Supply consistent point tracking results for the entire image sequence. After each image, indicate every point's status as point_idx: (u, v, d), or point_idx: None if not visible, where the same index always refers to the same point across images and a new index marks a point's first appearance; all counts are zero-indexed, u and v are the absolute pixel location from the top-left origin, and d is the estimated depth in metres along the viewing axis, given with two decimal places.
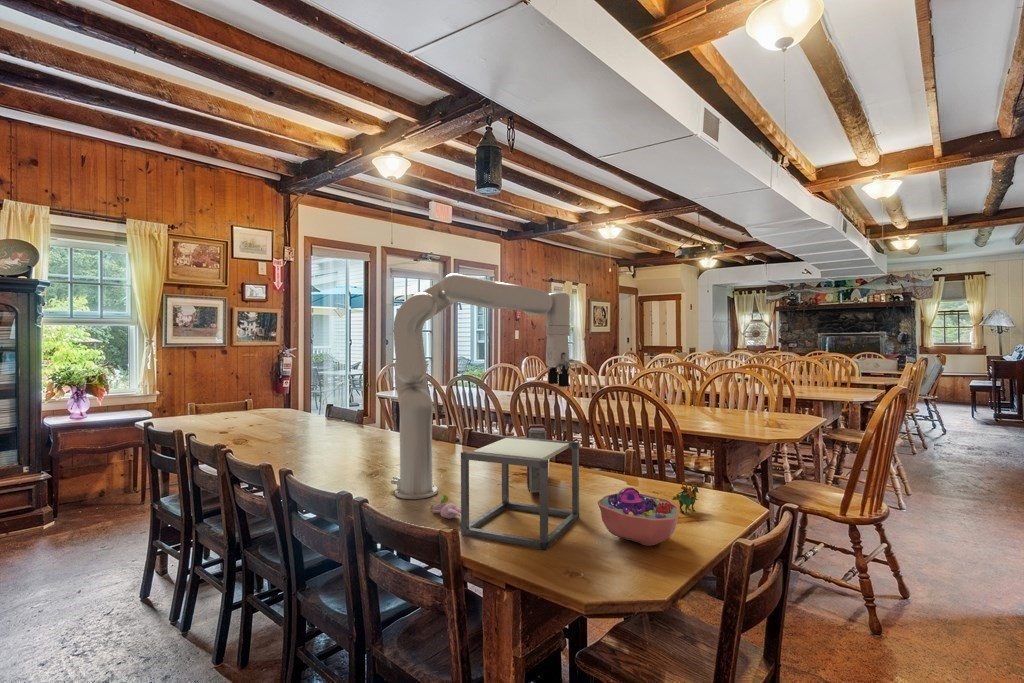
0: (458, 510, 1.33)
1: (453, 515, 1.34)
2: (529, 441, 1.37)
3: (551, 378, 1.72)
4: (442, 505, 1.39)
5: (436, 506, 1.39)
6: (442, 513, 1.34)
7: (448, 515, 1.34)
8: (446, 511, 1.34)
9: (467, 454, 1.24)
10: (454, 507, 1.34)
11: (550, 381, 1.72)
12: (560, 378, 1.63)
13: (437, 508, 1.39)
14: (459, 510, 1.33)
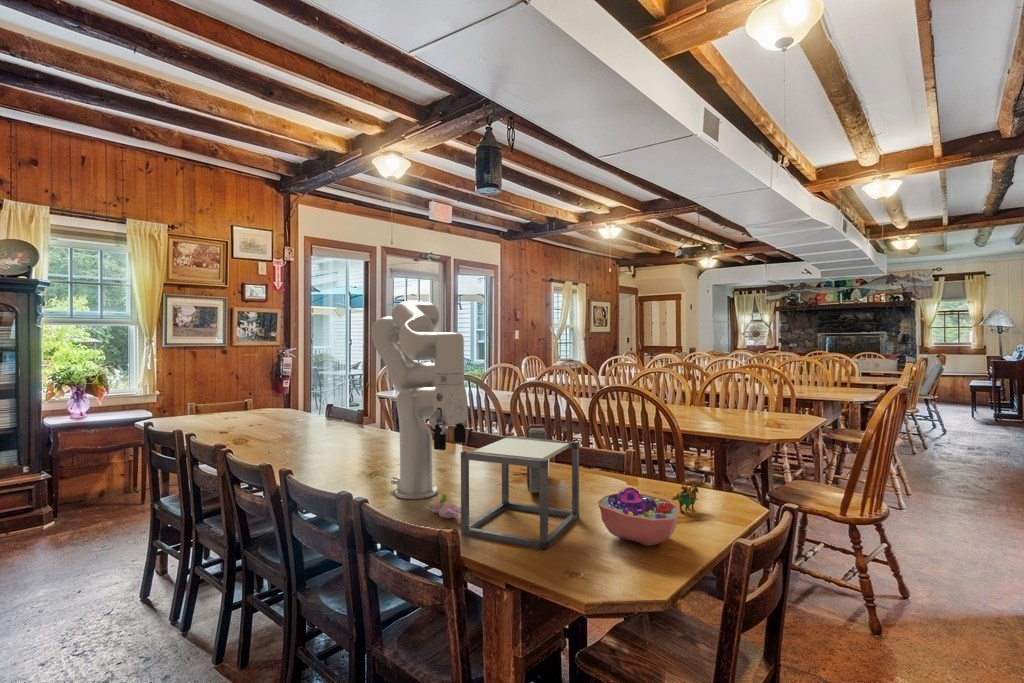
0: (456, 510, 1.33)
1: (451, 515, 1.34)
2: (529, 441, 1.37)
3: None
4: (441, 505, 1.39)
5: (435, 506, 1.39)
6: (440, 513, 1.34)
7: (446, 515, 1.34)
8: (444, 511, 1.34)
9: (467, 454, 1.24)
10: (452, 507, 1.34)
11: None
12: None
13: (436, 508, 1.39)
14: (457, 510, 1.33)
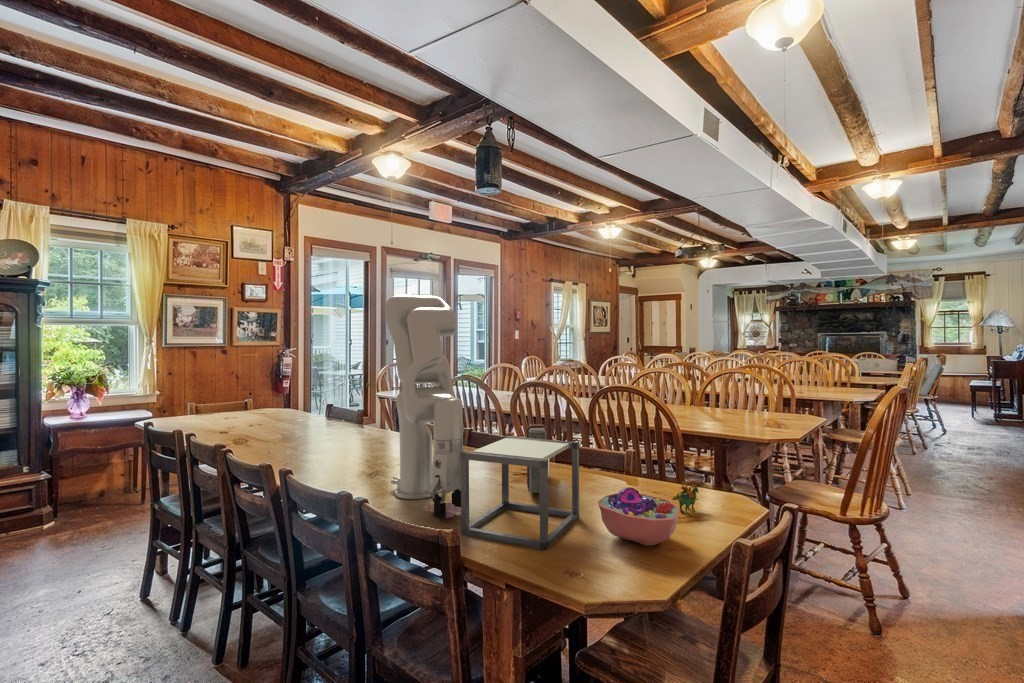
0: (456, 509, 1.33)
1: (451, 514, 1.34)
2: (529, 441, 1.37)
3: None
4: None
5: (433, 506, 1.39)
6: None
7: (446, 514, 1.34)
8: None
9: (467, 454, 1.24)
10: (452, 506, 1.35)
11: None
12: None
13: None
14: (457, 509, 1.33)
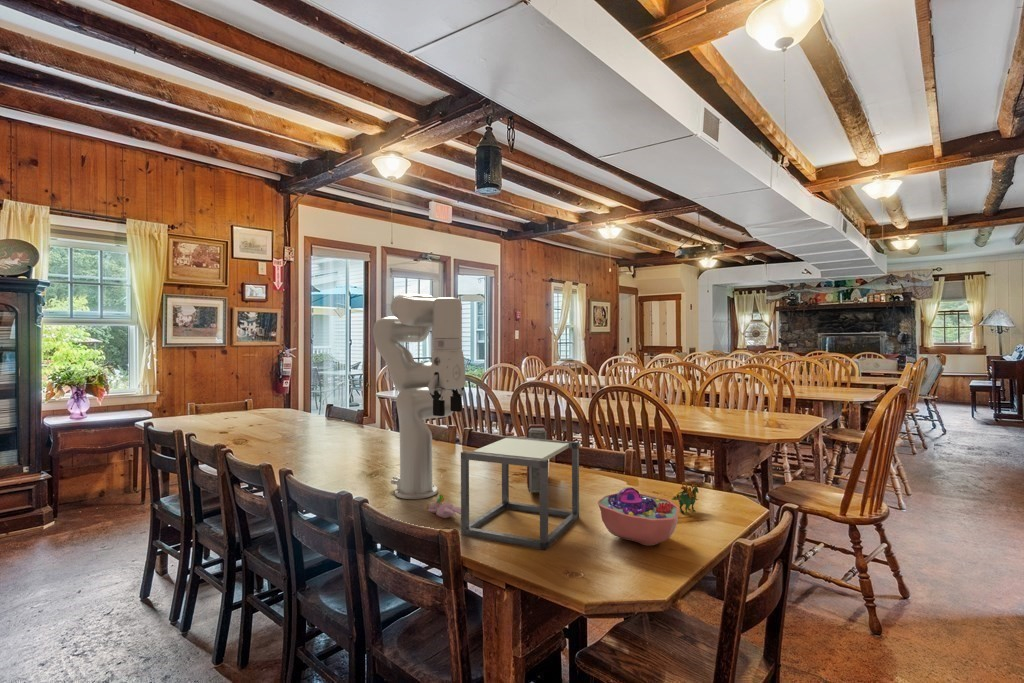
0: (454, 509, 1.33)
1: (449, 514, 1.34)
2: (529, 441, 1.37)
3: None
4: (438, 504, 1.40)
5: (432, 505, 1.40)
6: (438, 512, 1.35)
7: (444, 514, 1.34)
8: (442, 510, 1.34)
9: (467, 454, 1.24)
10: (450, 506, 1.35)
11: None
12: None
13: (433, 507, 1.39)
14: (455, 509, 1.33)
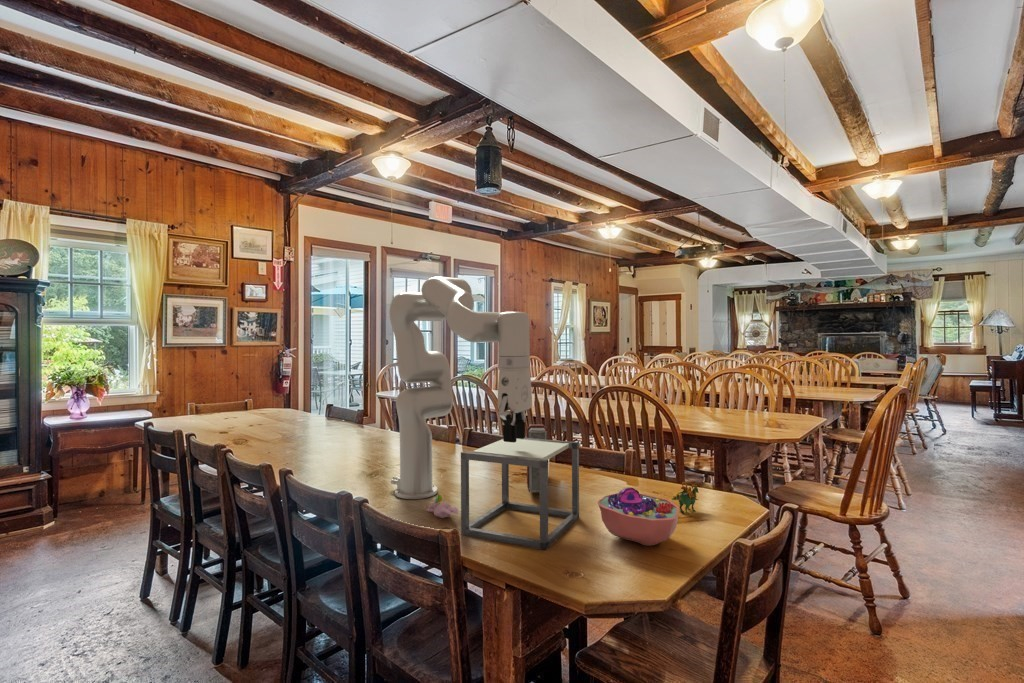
0: (451, 509, 1.33)
1: (446, 514, 1.34)
2: (529, 441, 1.37)
3: None
4: (436, 504, 1.40)
5: (430, 505, 1.40)
6: (435, 512, 1.35)
7: (441, 514, 1.34)
8: (439, 510, 1.34)
9: (467, 454, 1.24)
10: (447, 506, 1.35)
11: None
12: None
13: (431, 507, 1.39)
14: (452, 509, 1.33)
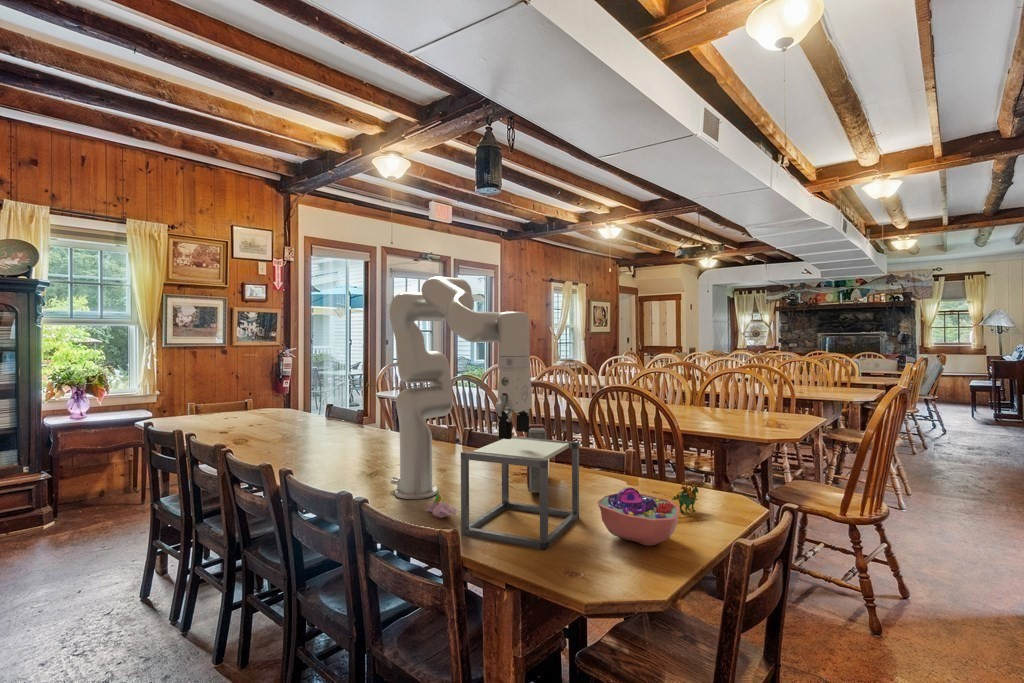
0: (449, 510, 1.33)
1: (445, 514, 1.34)
2: (529, 441, 1.37)
3: None
4: (435, 504, 1.40)
5: (430, 505, 1.40)
6: (434, 512, 1.35)
7: (440, 514, 1.34)
8: (438, 510, 1.34)
9: (467, 454, 1.24)
10: (446, 506, 1.35)
11: None
12: None
13: (430, 507, 1.40)
14: (450, 510, 1.33)
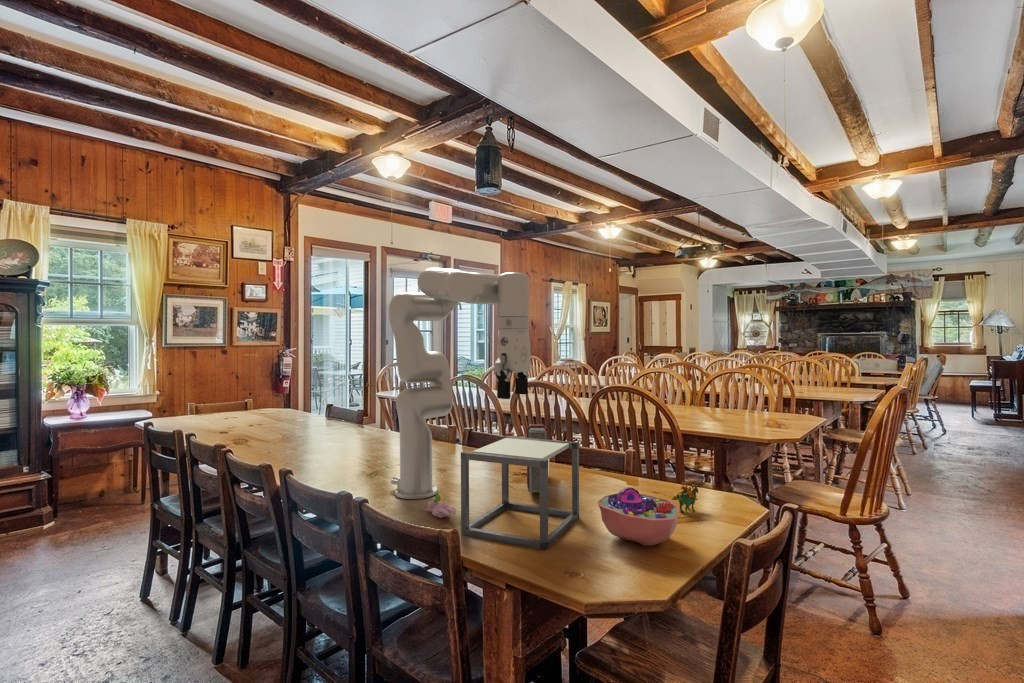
0: (448, 509, 1.33)
1: (444, 514, 1.35)
2: (529, 441, 1.37)
3: None
4: (435, 504, 1.40)
5: (429, 505, 1.40)
6: (433, 512, 1.35)
7: (439, 514, 1.34)
8: (437, 510, 1.34)
9: (467, 454, 1.24)
10: (445, 506, 1.35)
11: None
12: None
13: (430, 507, 1.40)
14: (449, 509, 1.33)
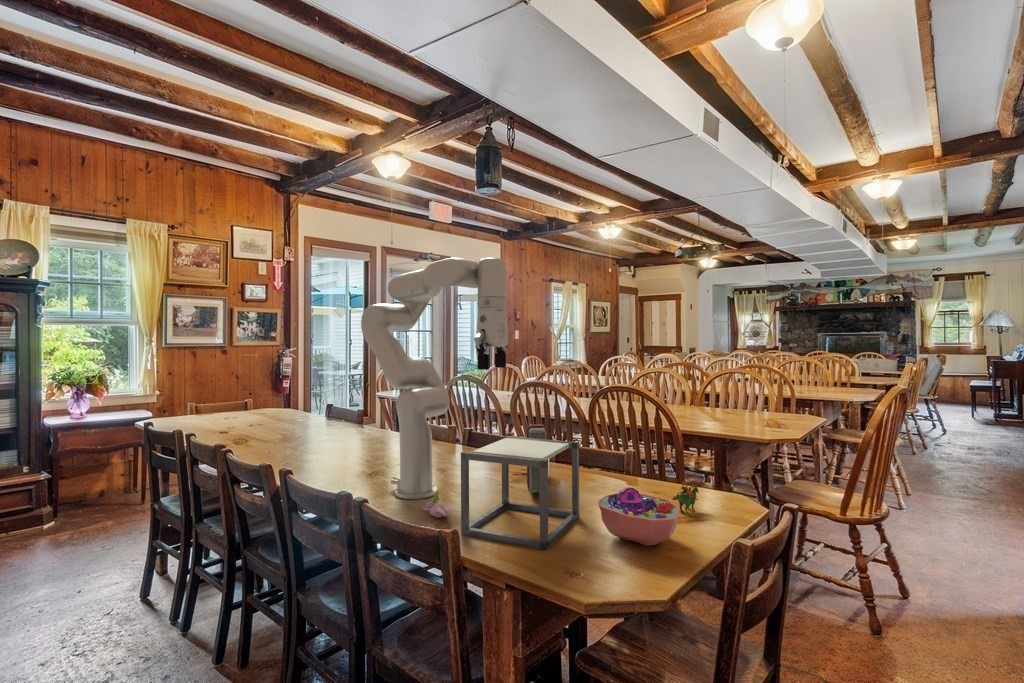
0: (445, 509, 1.33)
1: (441, 514, 1.35)
2: (529, 441, 1.37)
3: None
4: (434, 504, 1.40)
5: (428, 505, 1.40)
6: (431, 512, 1.35)
7: (436, 514, 1.34)
8: (434, 510, 1.34)
9: (467, 454, 1.24)
10: (442, 506, 1.35)
11: None
12: None
13: (429, 507, 1.40)
14: (446, 510, 1.33)
